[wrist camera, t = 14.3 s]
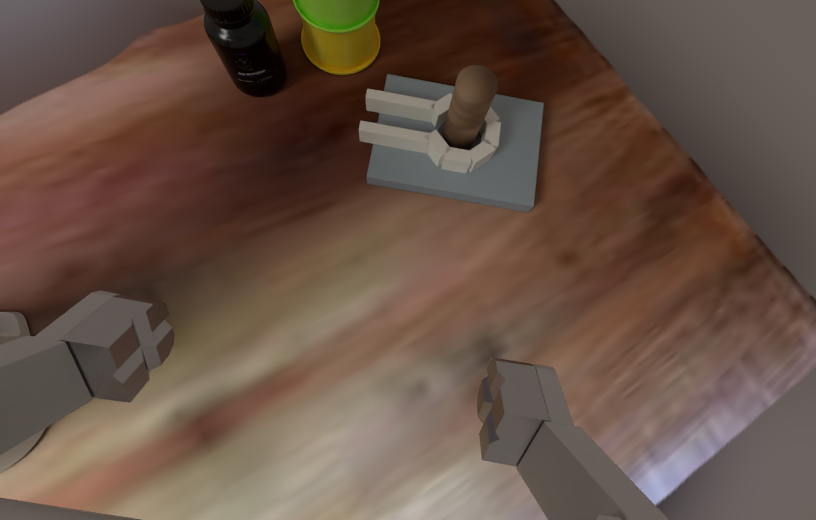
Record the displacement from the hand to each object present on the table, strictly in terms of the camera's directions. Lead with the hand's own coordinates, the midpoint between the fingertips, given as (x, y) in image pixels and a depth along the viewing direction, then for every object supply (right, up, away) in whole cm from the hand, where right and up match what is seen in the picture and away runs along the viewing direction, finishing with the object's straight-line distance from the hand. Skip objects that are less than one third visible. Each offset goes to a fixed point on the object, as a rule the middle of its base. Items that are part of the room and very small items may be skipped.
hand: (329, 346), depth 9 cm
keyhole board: (+8, +17, +38) cm, 42 cm away
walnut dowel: (+8, +17, +36) cm, 41 cm away
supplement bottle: (-17, +26, +39) cm, 50 cm away
